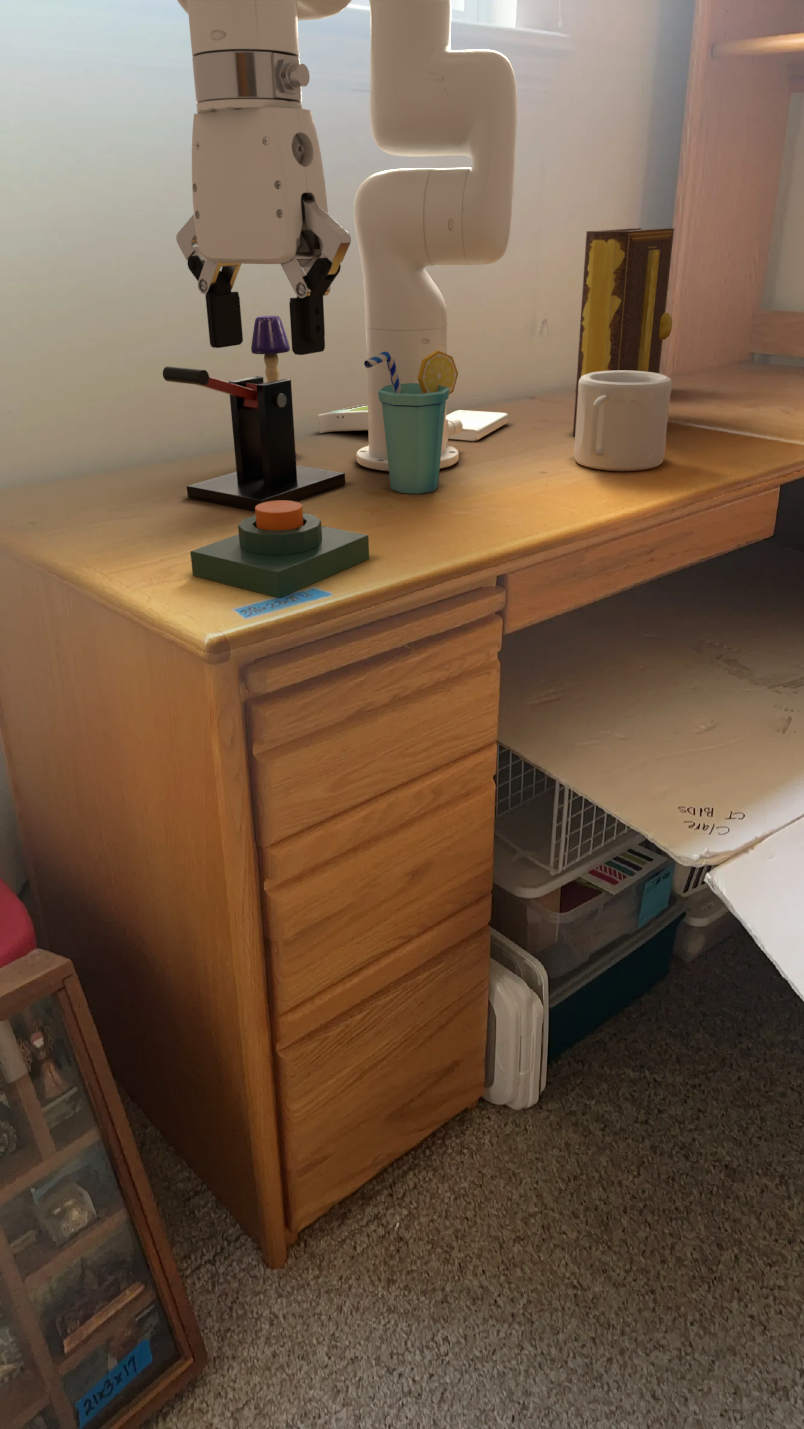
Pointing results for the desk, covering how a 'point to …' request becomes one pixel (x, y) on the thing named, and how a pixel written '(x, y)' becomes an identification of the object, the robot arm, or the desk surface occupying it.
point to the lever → (212, 383)
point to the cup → (415, 421)
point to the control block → (279, 556)
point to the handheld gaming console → (344, 420)
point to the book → (624, 301)
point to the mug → (622, 420)
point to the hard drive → (477, 423)
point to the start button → (279, 515)
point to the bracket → (264, 454)
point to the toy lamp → (269, 343)
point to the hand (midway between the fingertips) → (266, 348)
